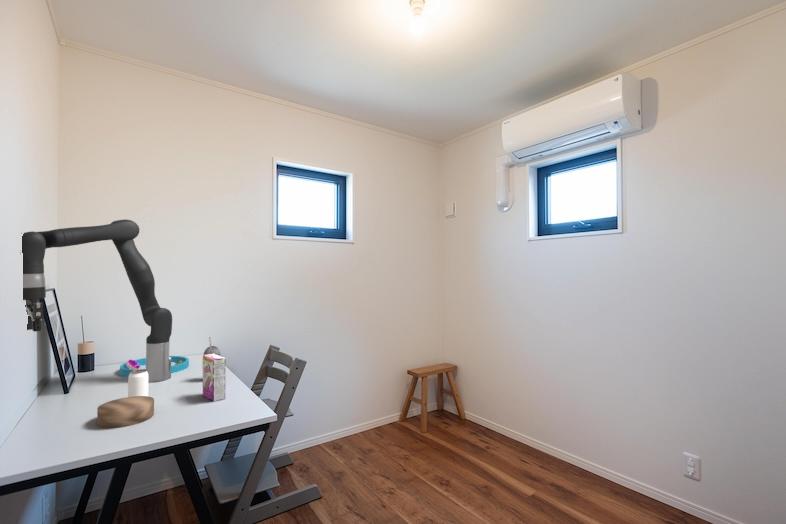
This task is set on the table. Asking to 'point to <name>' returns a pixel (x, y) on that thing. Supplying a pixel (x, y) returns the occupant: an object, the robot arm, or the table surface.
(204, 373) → the candy bar box
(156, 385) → the table surface
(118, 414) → the tan rounded flat lump
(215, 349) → the beverage cup
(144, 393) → the can
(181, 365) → the blue ring
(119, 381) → the table surface
